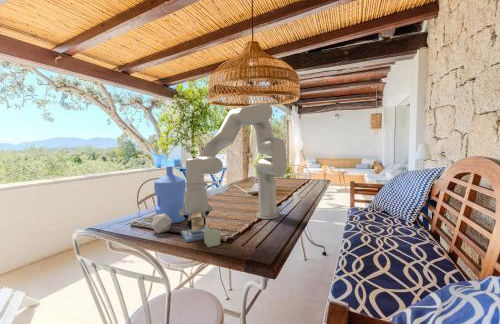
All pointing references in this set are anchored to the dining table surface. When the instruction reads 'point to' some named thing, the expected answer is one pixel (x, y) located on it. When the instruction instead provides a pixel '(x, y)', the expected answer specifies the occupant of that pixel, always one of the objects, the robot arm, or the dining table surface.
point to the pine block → (197, 222)
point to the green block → (212, 237)
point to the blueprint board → (193, 234)
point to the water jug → (170, 195)
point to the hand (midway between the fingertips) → (196, 227)
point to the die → (161, 223)
